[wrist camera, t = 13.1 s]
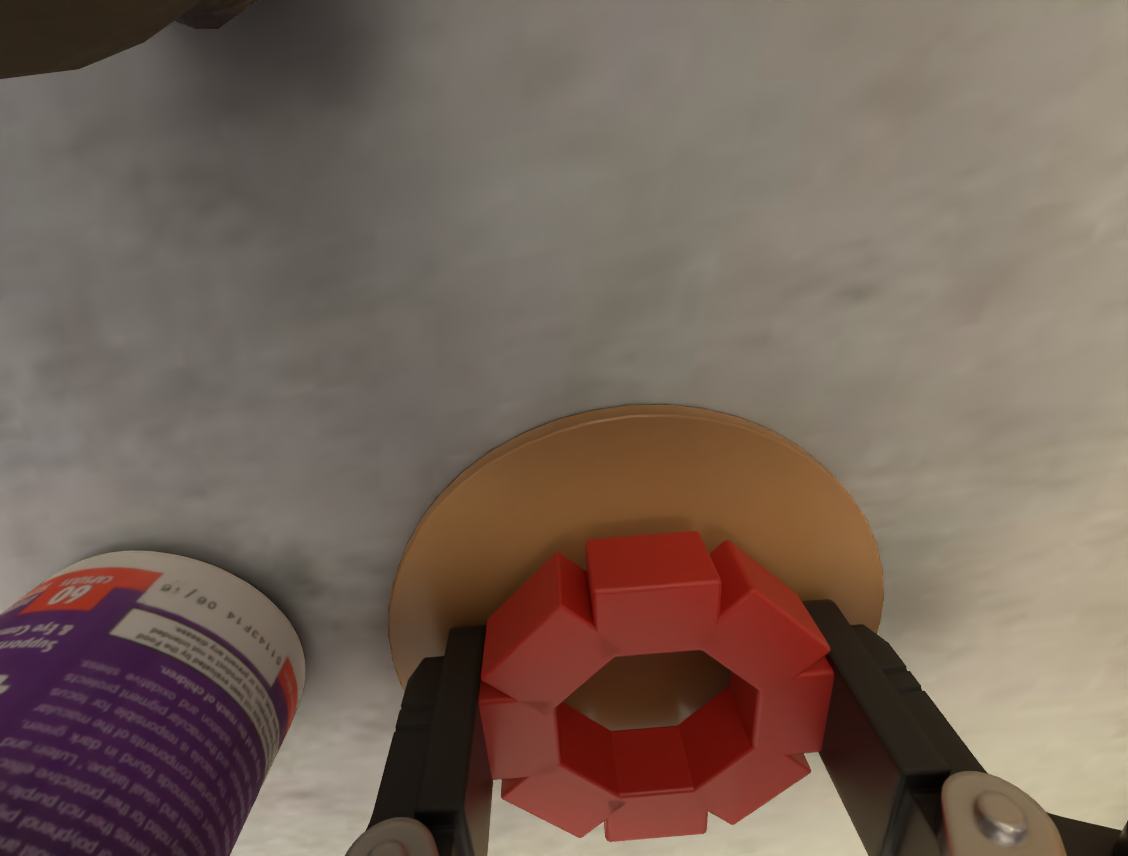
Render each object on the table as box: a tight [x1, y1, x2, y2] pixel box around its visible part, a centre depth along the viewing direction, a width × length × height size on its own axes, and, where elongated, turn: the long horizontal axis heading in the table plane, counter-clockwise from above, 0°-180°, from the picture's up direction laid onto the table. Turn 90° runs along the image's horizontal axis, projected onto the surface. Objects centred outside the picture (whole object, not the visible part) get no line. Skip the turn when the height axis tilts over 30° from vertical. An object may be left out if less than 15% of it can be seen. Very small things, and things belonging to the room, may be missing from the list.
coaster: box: [388, 405, 884, 731], centre depth 12 cm, size 10×10×1 cm
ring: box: [479, 531, 834, 842], centre depth 10 cm, size 6×6×1 cm
